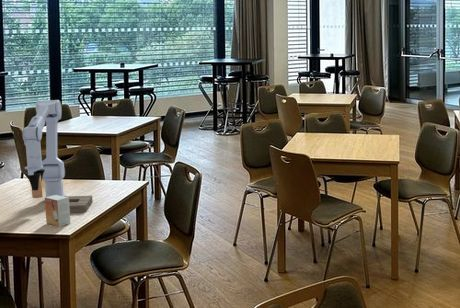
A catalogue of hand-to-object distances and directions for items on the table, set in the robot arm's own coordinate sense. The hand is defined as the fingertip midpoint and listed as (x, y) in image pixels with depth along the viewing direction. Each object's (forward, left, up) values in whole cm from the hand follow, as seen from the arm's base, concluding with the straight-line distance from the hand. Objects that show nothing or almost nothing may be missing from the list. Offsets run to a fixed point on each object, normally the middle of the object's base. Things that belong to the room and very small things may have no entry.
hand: (36, 188), depth 263 cm
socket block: (-7, +12, -10) cm, 18 cm away
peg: (0, 0, -3) cm, 3 cm away
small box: (+16, +11, -11) cm, 22 cm away
